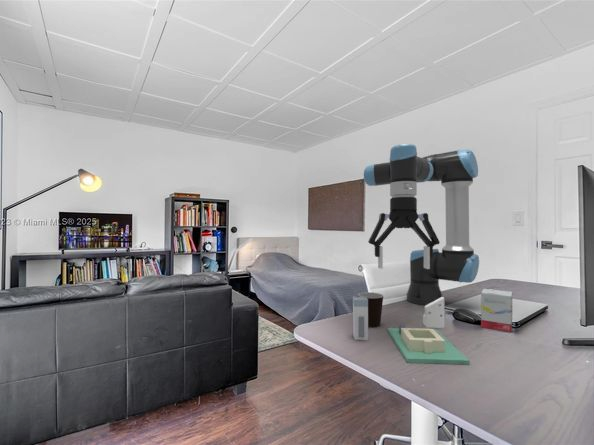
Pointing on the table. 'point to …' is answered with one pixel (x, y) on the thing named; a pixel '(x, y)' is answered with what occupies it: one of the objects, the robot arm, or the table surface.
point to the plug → (360, 318)
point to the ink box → (496, 310)
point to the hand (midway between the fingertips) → (403, 268)
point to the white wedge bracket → (434, 314)
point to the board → (425, 346)
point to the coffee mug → (373, 307)
